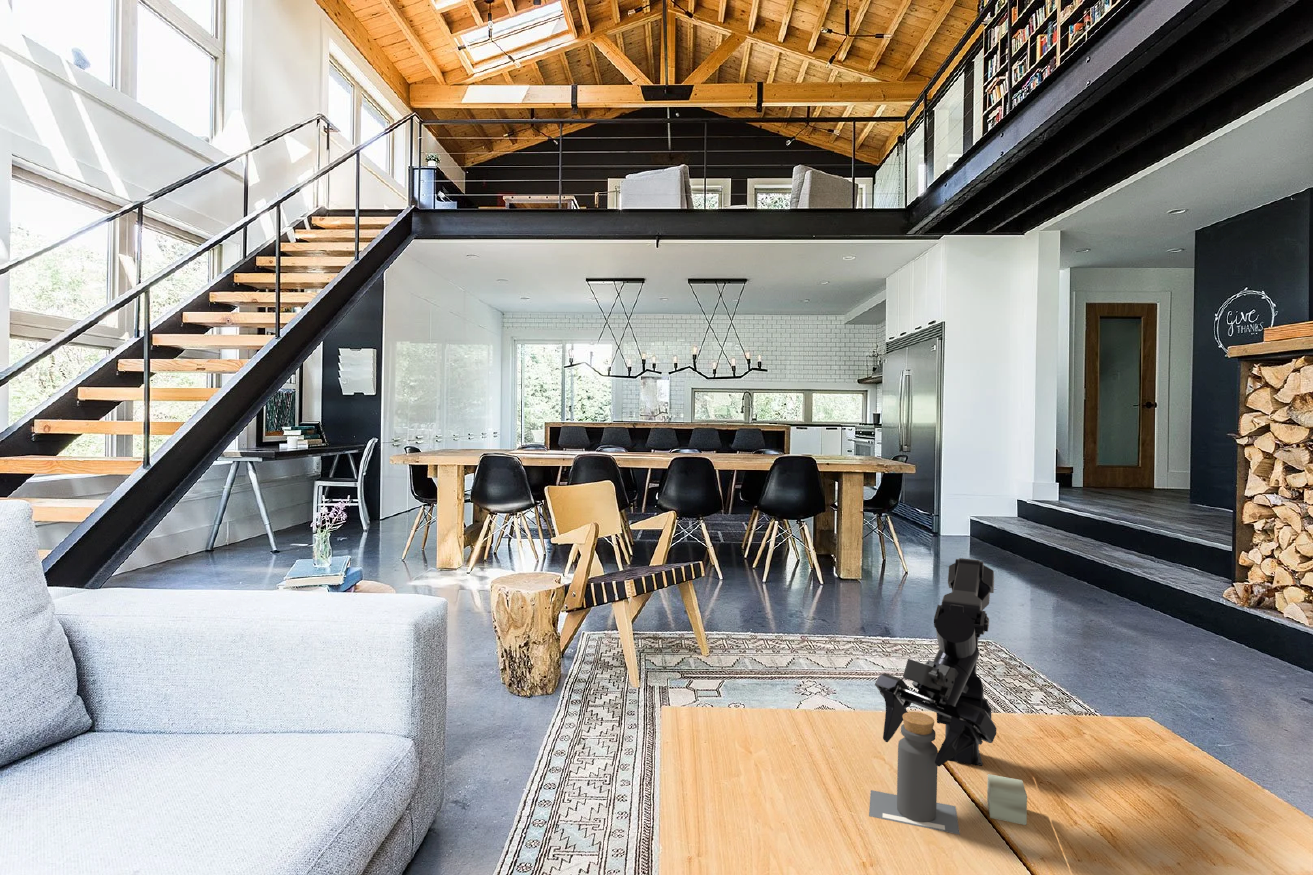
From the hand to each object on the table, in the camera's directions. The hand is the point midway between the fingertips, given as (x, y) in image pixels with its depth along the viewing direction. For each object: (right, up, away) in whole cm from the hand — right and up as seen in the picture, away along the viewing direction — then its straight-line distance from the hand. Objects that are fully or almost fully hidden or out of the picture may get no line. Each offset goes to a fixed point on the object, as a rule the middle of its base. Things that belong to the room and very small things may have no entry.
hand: (909, 752), depth 105 cm
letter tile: (+1, -10, +1) cm, 10 cm away
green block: (+16, -10, +1) cm, 19 cm away
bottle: (+1, -10, 0) cm, 10 cm away
